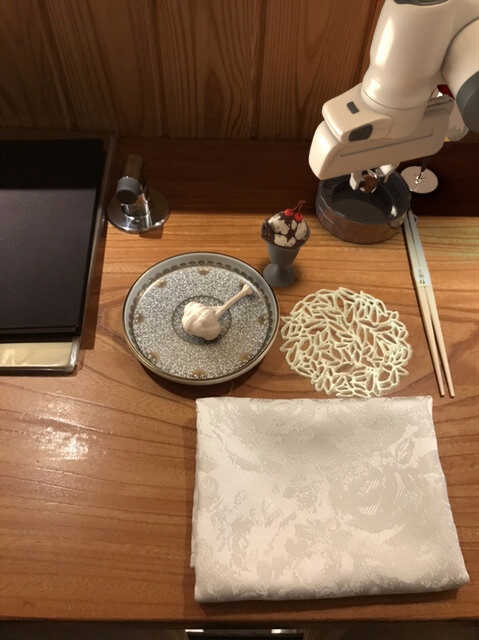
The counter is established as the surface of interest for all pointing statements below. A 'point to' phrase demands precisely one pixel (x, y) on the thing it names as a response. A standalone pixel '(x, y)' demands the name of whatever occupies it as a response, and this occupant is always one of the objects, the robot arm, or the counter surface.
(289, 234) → the sundae
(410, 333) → the counter surface
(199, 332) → the garlic bulb
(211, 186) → the counter surface
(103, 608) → the counter surface
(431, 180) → the wineglass
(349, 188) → the bowl
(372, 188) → the chocolate
